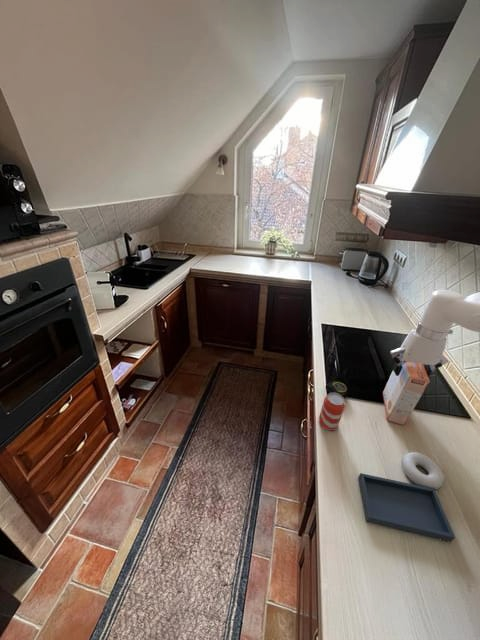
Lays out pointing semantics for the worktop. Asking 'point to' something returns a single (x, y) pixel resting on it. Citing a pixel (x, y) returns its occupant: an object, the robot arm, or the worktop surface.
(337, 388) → the tape measure
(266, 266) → the worktop surface
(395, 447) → the worktop surface
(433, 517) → the tray
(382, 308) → the worktop surface
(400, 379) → the cracker box
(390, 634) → the worktop surface
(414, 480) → the donut
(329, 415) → the beverage can
